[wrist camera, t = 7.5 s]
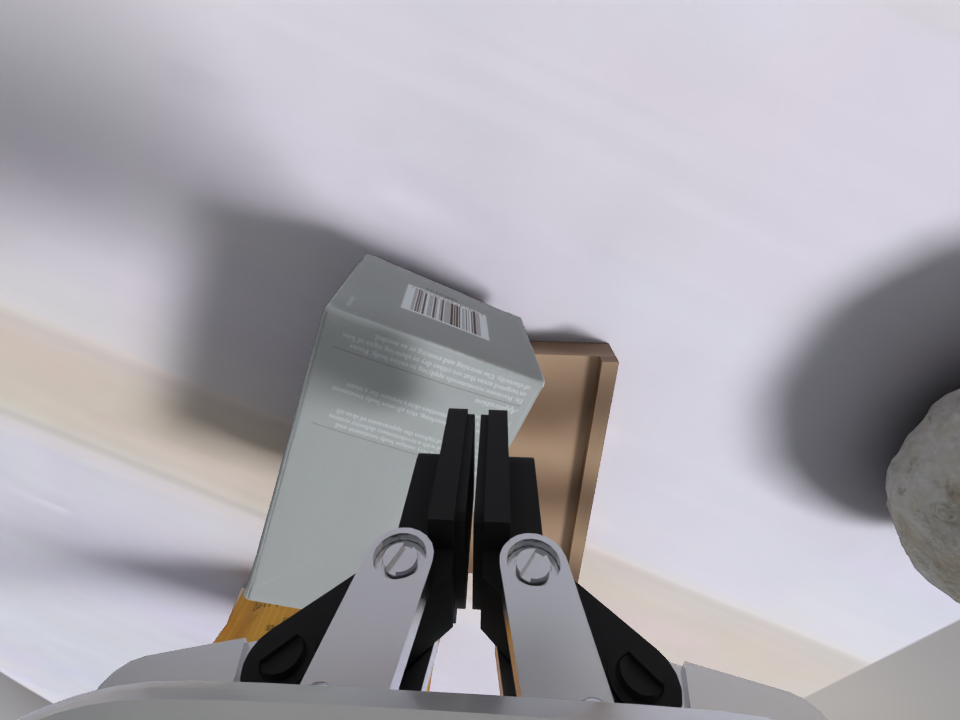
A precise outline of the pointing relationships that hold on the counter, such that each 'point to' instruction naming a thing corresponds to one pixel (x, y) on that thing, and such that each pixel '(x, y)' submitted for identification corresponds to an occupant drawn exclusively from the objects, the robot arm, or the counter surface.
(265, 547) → the skincare box
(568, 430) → the light brown wooden tray
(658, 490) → the counter surface
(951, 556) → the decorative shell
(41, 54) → the counter surface
